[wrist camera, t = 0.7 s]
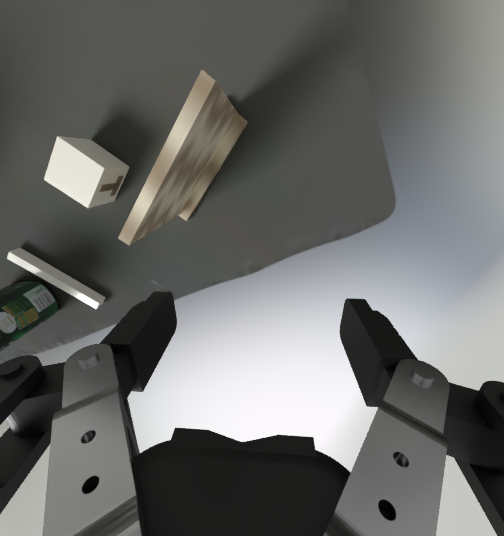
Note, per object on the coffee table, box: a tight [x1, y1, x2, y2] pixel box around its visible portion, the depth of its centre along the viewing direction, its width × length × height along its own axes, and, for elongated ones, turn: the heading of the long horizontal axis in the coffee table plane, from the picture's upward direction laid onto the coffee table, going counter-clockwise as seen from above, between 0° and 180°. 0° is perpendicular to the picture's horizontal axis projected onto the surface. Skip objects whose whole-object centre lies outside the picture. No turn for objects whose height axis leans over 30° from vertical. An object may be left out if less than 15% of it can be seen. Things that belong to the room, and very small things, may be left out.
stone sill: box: [7, 248, 106, 309], centre depth 43 cm, size 16×2×2 cm, turn 54°
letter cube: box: [44, 136, 130, 208], centre depth 33 cm, size 6×6×6 cm
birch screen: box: [118, 70, 248, 245], centre depth 28 cm, size 16×4×15 cm, turn 144°
